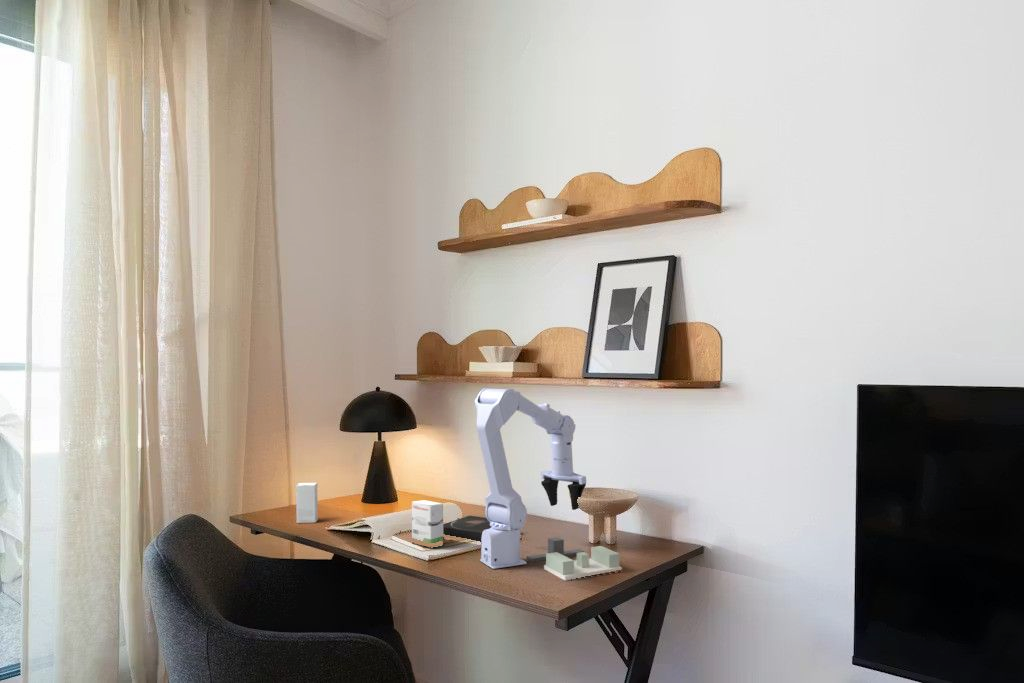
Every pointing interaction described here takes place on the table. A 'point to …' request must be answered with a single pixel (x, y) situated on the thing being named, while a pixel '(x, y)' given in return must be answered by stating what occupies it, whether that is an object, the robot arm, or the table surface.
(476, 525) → the portable cd player
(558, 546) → the grey inverted t block
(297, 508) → the skincare box
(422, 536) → the ink box
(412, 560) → the table surface
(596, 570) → the stand
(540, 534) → the table surface
